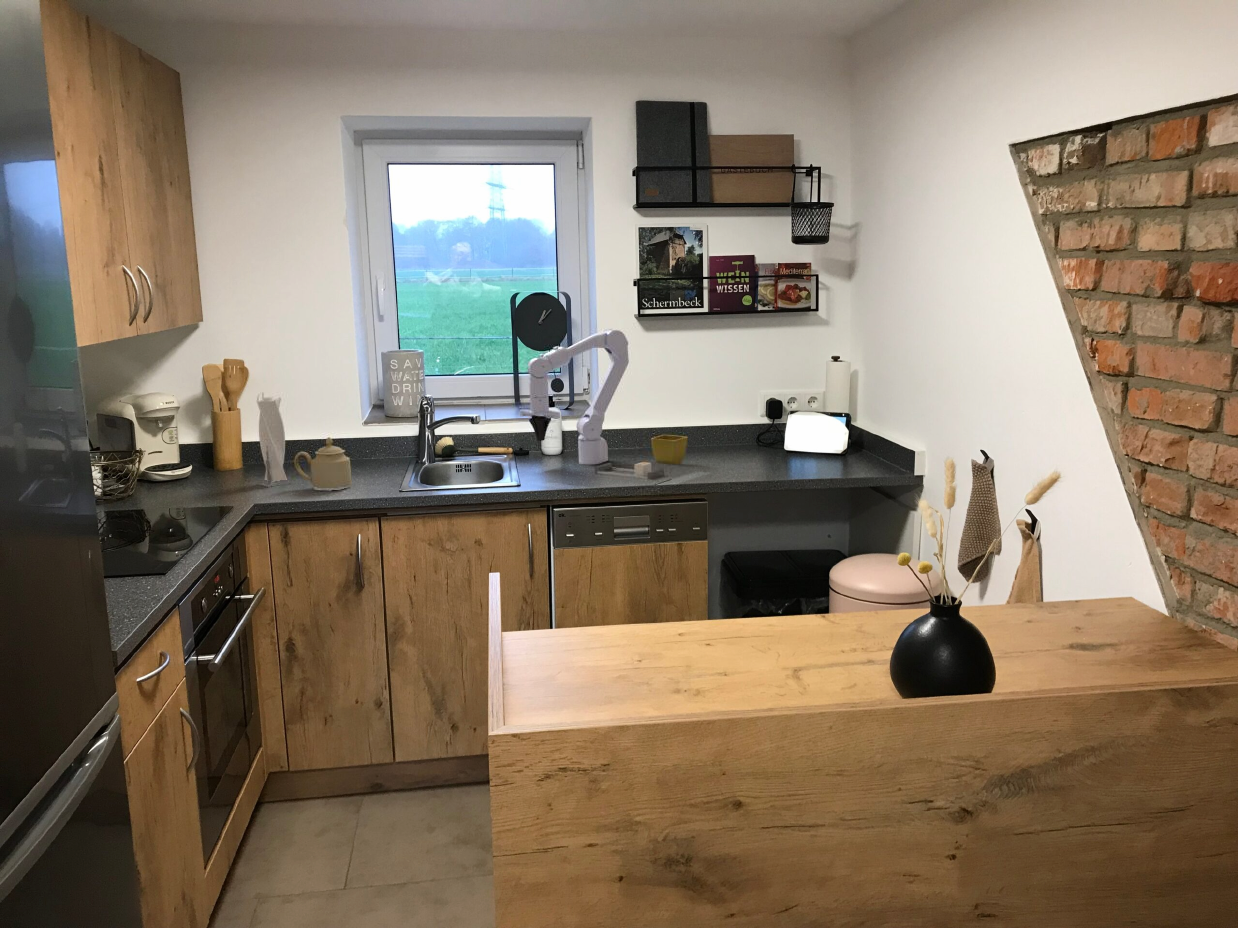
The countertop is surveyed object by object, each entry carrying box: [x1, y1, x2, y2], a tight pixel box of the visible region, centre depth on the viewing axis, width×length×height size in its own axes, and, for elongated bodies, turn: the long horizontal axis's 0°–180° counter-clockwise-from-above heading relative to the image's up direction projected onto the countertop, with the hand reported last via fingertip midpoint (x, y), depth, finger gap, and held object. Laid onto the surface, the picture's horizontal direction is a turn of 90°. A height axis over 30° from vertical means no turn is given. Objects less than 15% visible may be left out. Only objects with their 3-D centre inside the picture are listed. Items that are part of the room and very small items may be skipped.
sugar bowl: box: [294, 436, 352, 488], centre depth 282 cm, size 15×11×15 cm
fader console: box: [594, 462, 672, 486], centre depth 287 cm, size 9×24×3 cm, turn 55°
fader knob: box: [633, 461, 652, 476], centre depth 284 cm, size 4×3×4 cm
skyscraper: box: [256, 391, 288, 484], centre depth 290 cm, size 8×8×28 cm
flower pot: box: [650, 434, 689, 466], centre depth 306 cm, size 9×9×9 cm
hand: (540, 440), depth 302 cm, fingers closed
